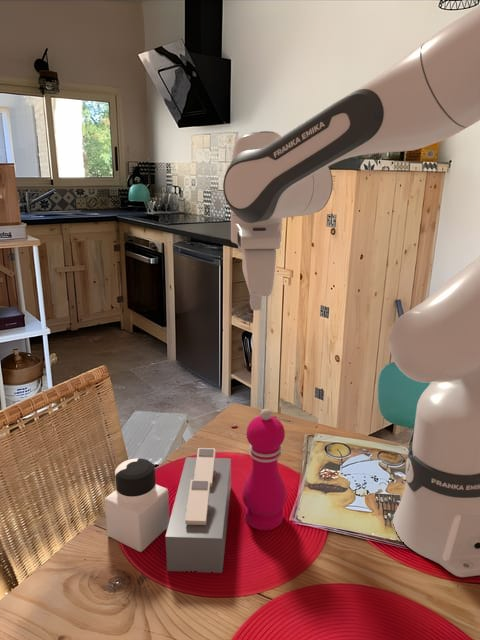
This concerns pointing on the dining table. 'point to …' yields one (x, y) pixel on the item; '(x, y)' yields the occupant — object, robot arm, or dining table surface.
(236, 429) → the dining table surface
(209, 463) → the paddle
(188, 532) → the breaker panel
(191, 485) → the paddle on
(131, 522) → the medicine bottle
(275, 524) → the pepper mill
